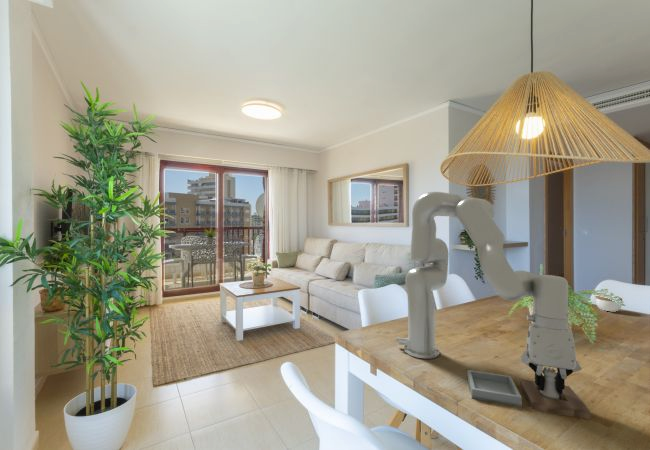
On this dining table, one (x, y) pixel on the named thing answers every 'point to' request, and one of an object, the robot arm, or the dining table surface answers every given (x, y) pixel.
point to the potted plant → (607, 304)
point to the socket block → (554, 401)
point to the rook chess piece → (549, 384)
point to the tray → (494, 388)
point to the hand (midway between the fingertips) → (549, 388)
